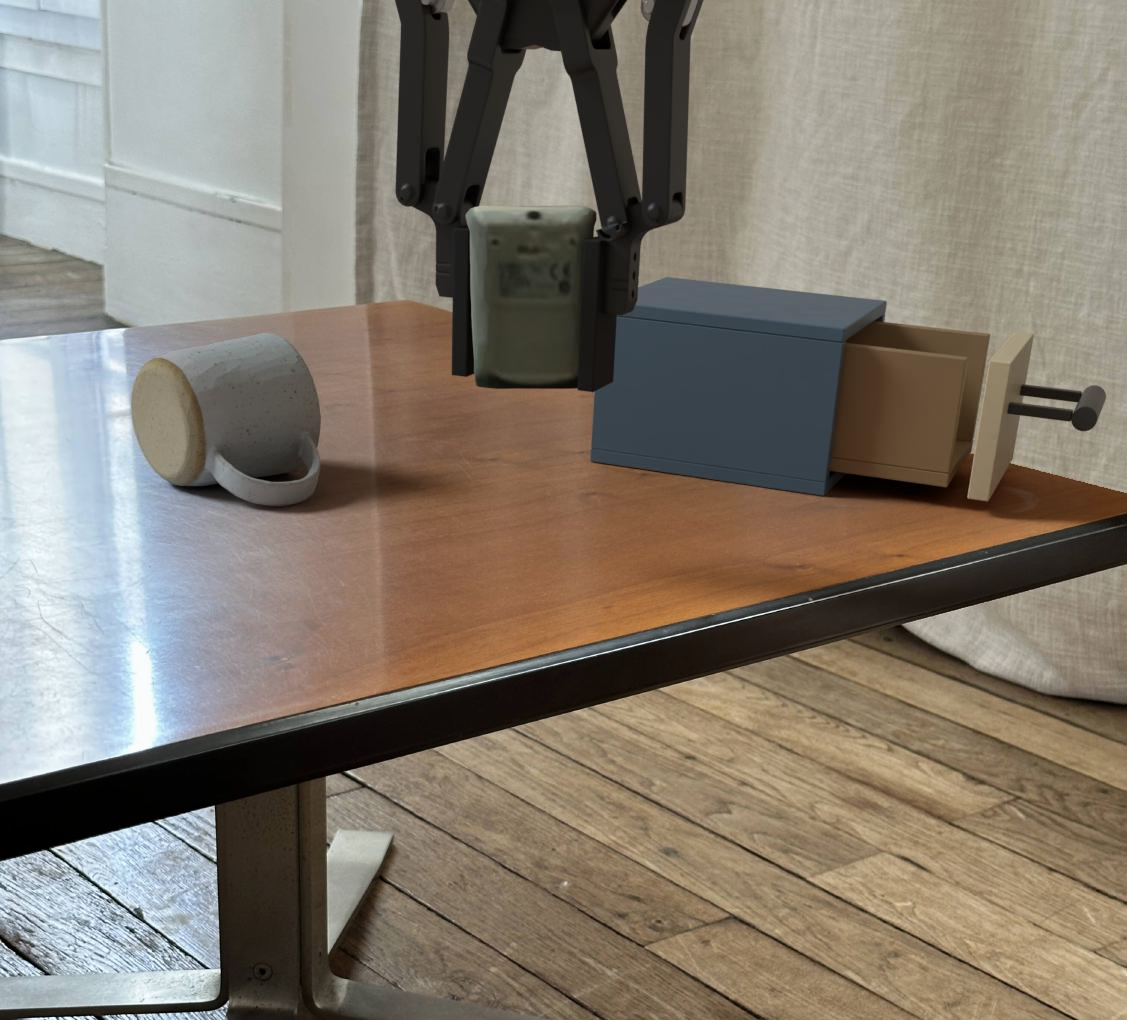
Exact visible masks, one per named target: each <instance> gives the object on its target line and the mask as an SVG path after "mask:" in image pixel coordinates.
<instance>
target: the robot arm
mask: <svg viewBox="0 0 1127 1020" xmlns="http://www.w3.org/2000/svg"><path fill="white" fill-rule="evenodd" d="M467 1H468V3H469V5H470V7H471V9H472V10H473V12H474V14H475V16H476V18H475V22H474V25H473V28H472V32H471V37H470V39H469V40H470V41H469V45H468V49H467V53H466V60H467V62H468V66H467V70H466V75H465V79H464V82H463V86H462V90H461V94H460V99H459V102H458V105H457V109H456V113H455V117H454V121H453V125H452V128H451V132H450V136H449V140H448V143H447V148H446V151H445V147H446V146H445V145H446V144H445V143H446V142H445V141H446V124H447V123H446V121H447V119H446V118H447V98H448V95H447V94H448V75H449V58H450V57H449V54H450V53H449V52H450V22H449V21H450V20H449V14H448V13H449V12H450V11H451V10H452V8H453V6H454V4H455V0H394V2H395V7H396V10H397V14H398V19H399V22H400V38H399V39H400V40H399V41H400V42H399V44H400V45H399V71H398V102H397V131H396V132H397V134H396V159H395V160H396V162H395V163H396V165H395V198H396V199H397V201H398V203H399V204H400V205H402V206H404V207H406V208H407V207H408V208H410V207H412V208H414V209H416V210H418V211H419V212H421V213H422V214H423V213H424V214H425V215H427V216H428V217H429V218H430V219H431V220H432V222H433V224H434V227H435V287H436V290H437V294H438V297H440V298H441V297H442V298H452V306H451V307H452V308H451V309H452V317H451V320H452V321H451V376H457V377H463V378H468V377H470V376H472V375H474V351H473V335H472V317H471V291H470V231H469V227H468V225H467V221H466V216H465V215H466V214H467V212H468V211H469V210H470V209H471V208H474V207H478V206H481V205H480V204H481V201H482V197H483V194H484V190H485V186H486V184H487V183H486V182H487V179H488V175H489V171H490V168H491V164H492V160H493V157H494V154H495V151H496V150H495V149H496V146H497V142H498V139H499V135H500V132H501V128H502V124H503V121H504V117H505V113H506V111H507V110H506V109H507V106H508V103H509V99H510V95H511V91H512V88H513V84H514V81H515V77H516V75H517V73H518V71H519V70H520V69H521V67H522V66H523V63H524V60H525V57H526V53H527V50H538V49H542V48H543V49H545V50H548V51H551V52H560V54H561V57H562V64H563V68H564V70H565V73H566V74H567V75H568V76H569V79H570V81H571V86H572V91H573V95H574V96H573V97H574V100H575V107H576V111H577V115H578V120H579V125H580V130H581V135H582V140H583V145H584V150H585V154H586V159H587V164H588V169H589V173H590V179H591V183H592V188H593V193H594V198H595V202H596V208H597V213H598V217H599V222H600V228H598V229H595V232H596V235H597V236H594V237H593V238H589V239H585V240H584V253H583V276H582V299H581V322H580V345H579V367H578V388H577V391H581V392H588V393H595V391H596V390H598V389H600V388H602V387H604V386H606V385H608V384H610V383H612V382H613V378H614V359H615V340H616V321H617V315H624V314H627V313H629V312H632V311H633V309H634V307H635V305H636V302H637V300H638V287H639V283H640V281H639V280H640V279H639V276H640V265H641V264H640V263H641V247H642V240H643V239H644V237H645V236H646V235H647V234H648V233H649V232H650V231H653V230H655V229H658V228H662V227H665V226H669V225H671V224H674V223H677V222H679V221H681V220H682V219H683V217H684V215H685V213H686V205H687V203H686V201H687V172H688V171H687V170H688V169H687V168H688V142H689V141H688V140H689V139H688V137H689V109H690V108H689V106H690V75H691V74H690V73H691V47H692V46H691V42H692V35H693V32H694V29H695V27H696V24H697V20H698V17H699V15H700V12H701V9H702V6H703V4H704V0H640V13H641V15H642V17H643V18H644V19H645V20H646V21H647V22H648V24H647V28H646V34H645V46H644V47H645V48H644V84H643V85H644V86H643V87H644V88H643V127H642V128H643V130H642V131H643V132H642V134H643V135H642V136H643V137H642V141H643V142H642V174H641V175H642V177H641V178H642V179H641V180H642V181H641V182H642V183H641V188H640V185H639V180H638V174H637V169H636V164H635V160H634V154H633V149H632V144H631V138H630V133H629V128H628V124H627V119H626V113H625V109H624V103H623V98H622V93H621V89H620V88H621V87H620V83H619V78H618V72H617V69H618V67H619V66H618V65H619V59H618V54H617V49H616V48H617V47H616V45H615V44H616V43H615V37H614V33H613V28H612V24H613V22H614V21H615V19H616V18H617V16H618V15H619V14H620V12H621V11H622V9H623V8H624V6H625V5H626V3H627V2H628V0H467ZM640 189H641V190H640Z"/></svg>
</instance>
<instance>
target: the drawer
mask: <svg viewBox="0 0 1127 1020" xmlns="http://www.w3.org/2000/svg"><path fill="white" fill-rule="evenodd" d="M1034 337H1035V334H1034V333H1032V332H1022V331H1014V332H1013V333H1012V334H1011V335H1010V336H1009V337H1008V339H1006V341H1005V342H1004V343H1003V345H1002V346H1001V347H1000V348H999V349H998V350H997V352H996V353H995V354H994V355H993V356H992V357H991V359H990V360H989V362H988V368H987V374H986V380H985V385H984V386H985V387H984V392H983V397H982V404H981V410H980V416H979V422H978V429H977V436H976V441H975V448H974V454H973V459H972V465H971V472H970V478H969V484H968V490H967V499H968V500H974V501H982V502H989V501H990V499H991V497H992V496H993V494H994V492H995V491H996V488H997V487H998V485H999V484H1000V481H1001V480H1002V478H1003V477H1004V475H1005V473H1006V471H1007V469H1008V468H1009V466H1010V464H1011V462H1012V461H1013V459H1014V454H1015V447H1016V442H1017V436H1018V430H1019V424H1020V418H1021V417H1030V418H1039V419H1046V420H1052V421H1061V422H1069V423H1071V425H1072V426H1073V428H1074V429H1075V430H1077V431H1079V432H1088V431H1091V430H1092V429H1093V428H1095V426H1096V425H1097V423H1098V420H1099V417H1100V415H1101V413H1102V410H1103V407H1104V406H1105V403H1106V400H1107V393H1106V391H1105V390H1104V388H1103V387H1101V386H1099V385H1095V384H1094V385H1089V386H1087V387H1086V388H1085V389H1084V390H1083V391H1081V390H1074V389H1067V388H1059V387H1050V386H1049V387H1048V386H1043V385H1033V384H1026V383H1027V378H1028V371H1029V367H1030V360H1031V356H1032V349H1033V344H1034ZM990 339H991V334H990V333H985V332H976V331H969V330H959V329H950V328H943V327H942V328H941V327H932V326H923V325H915V324H905V323H896V322H887V321H884V322H880V321H873V322H872V323H870V324H869V325H867V326H866V327H865V328H863V329H862V330H860V331H859V332H857V333H856V334H854V335H853V336H851V337H850V338H849V339H847V340H846V344H845V352H844V360H843V368H842V376H841V384H840V392H839V400H838V408H837V416H836V424H835V433H834V441H833V449H832V457H831V465H830V471H835V472H842V473H846V474H850V475H856V476H864V477H870V478H877V479H885V480H891V481H899V482H905V483H912V484H920V485H927V486H933V487H939V488H948V486H949V484H951V482H952V480H953V479H954V477H955V476H956V474H958V472H959V470H961V469H960V468H961V467H962V466H963V464H964V463H965V461H966V460H967V459H968V457H969V456H970V454H971V453H972V451H973V443H974V438H975V434H976V433H975V431H976V426H977V420H978V414H979V408H980V401H981V395H982V389H983V382H984V376H985V370H986V364H987V357H988V351H989V345H990ZM1024 397H1031V398H1039V399H1044V400H1045V399H1047V400H1055V401H1063V402H1069V403H1070V402H1071V403H1077V404H1076V406H1075V408H1074V410H1073V409H1071V408H1063V407H1056V406H1048V405H1040V404H1032V403H1023V402H1024V401H1023V400H1024Z"/></svg>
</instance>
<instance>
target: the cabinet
mask: <svg viewBox="0 0 1127 1020" xmlns="http://www.w3.org/2000/svg"><path fill="white" fill-rule="evenodd" d="M887 303H888V302H887V300H883V299H872V298H865V297H864V298H863V297H855V296H844V295H835V294H828V293H827V294H826V293H817V292H809V291H799V290H789V289H779V288H772V287H761V286H754V285H743V284H734V283H725V282H716V281H708V280H707V281H706V280H699V279H698V280H697V279H687V278H678V277H669V276H666V277H665V276H664V277H662V278H660V279H658V280H654V281H652V282H649V283H647V284H643V285H641V286H638V300H637V302H636V305H635V307H634V309H633V311H632V312H629V313H627V314H624V315H617V321H616V340H615V359H614V378H613V382H612V383H610V384H608V385H606V386H604V387H602V388H600V389H598V390H596V391H594V392H593V393H594V395H593V411H592V412H593V413H592V426H591V427H592V428H591V441H590V442H591V443H590V458H589V462H592V463H598V464H605V465H612V466H619V467H626V468H633V469H639V470H645V471H652V472H659V473H665V474H671V475H680V476H686V477H693V478H700V479H706V480H714V481H720V482H728V483H733V484H740V485H741V484H742V485H746V486H753V487H760V488H761V487H762V488H768V489H774V490H781V491H788V492H794V493H799V494H800V493H801V494H807V495H814V496H822V497H824V496H825V495H827V494H828V492H829V491H831V490H832V488H834V486H835V485H836V484H837V483H838V482H839V481H841V479H842V478H843V477H844V476H845V475H847V473H842V472H835V471H830V465H831V457H832V449H833V441H834V433H835V424H836V416H837V408H838V400H839V392H840V384H841V376H842V368H843V360H844V352H845V344H846V340H847V339H849V338H850V337H851V336H853V335H854V334H856V333H857V332H859V331H860V330H862V329H863V328H865V327H866V326H867V325H869V324H870V323H872V322H873V321H880V322H886V312H887V305H888V304H887Z"/></svg>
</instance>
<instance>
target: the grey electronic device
mask: <svg viewBox="0 0 1127 1020" xmlns="http://www.w3.org/2000/svg"><path fill="white" fill-rule="evenodd" d="M597 213H598V212H597V211H596V210H595V209H593V208H592V207H589V206H585V205H579V204H577V205H569V204H568V205H479V206H478V207H474V208H471V209H470V210H469V211H468V212H467V214H466V215H465V216H466V221H467V225H468V227H469V231H470V291H471V317H472V335H473V351H474V374H473V375H474V380H475V386H476V387H478V388H483V389H495V390H511V389H512V390H516V389H517V390H518V389H519V390H521V389H522V390H530V389H531V390H559V389H560V390H573V389H575V390H576V389H578V367H579V345H580V322H581V299H582V276H583V253H584V240H585V239H589V238H593V237H595V233H594V232H595V226H596V223H597V220H598V219H597V217H598V216H597Z"/></svg>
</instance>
